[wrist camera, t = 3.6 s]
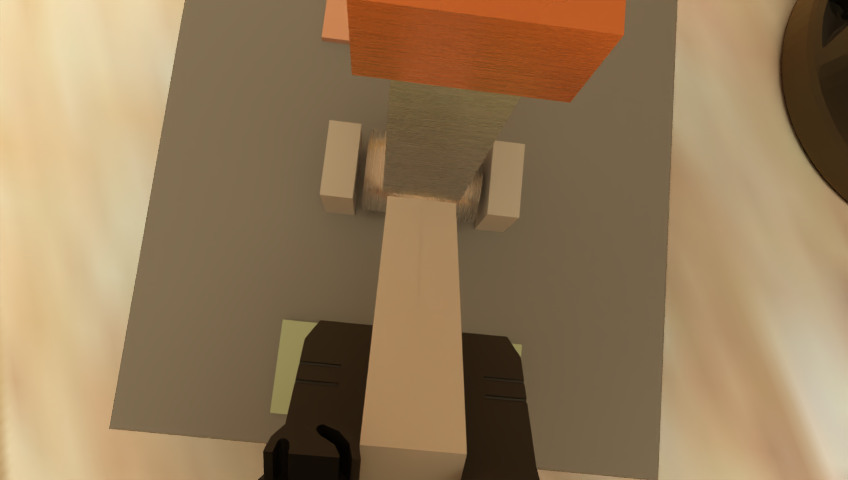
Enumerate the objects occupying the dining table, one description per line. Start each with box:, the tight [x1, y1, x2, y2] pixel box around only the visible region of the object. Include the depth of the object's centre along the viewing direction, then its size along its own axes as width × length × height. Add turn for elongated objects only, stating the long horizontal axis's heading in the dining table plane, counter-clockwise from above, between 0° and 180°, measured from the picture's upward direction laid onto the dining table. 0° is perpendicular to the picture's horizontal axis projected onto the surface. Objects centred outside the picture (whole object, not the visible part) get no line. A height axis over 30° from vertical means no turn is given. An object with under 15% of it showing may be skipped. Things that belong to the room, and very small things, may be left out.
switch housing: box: [109, 0, 677, 480], centre depth 25 cm, size 18×18×8 cm
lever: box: [347, 0, 626, 222], centre depth 16 cm, size 4×3×14 cm
